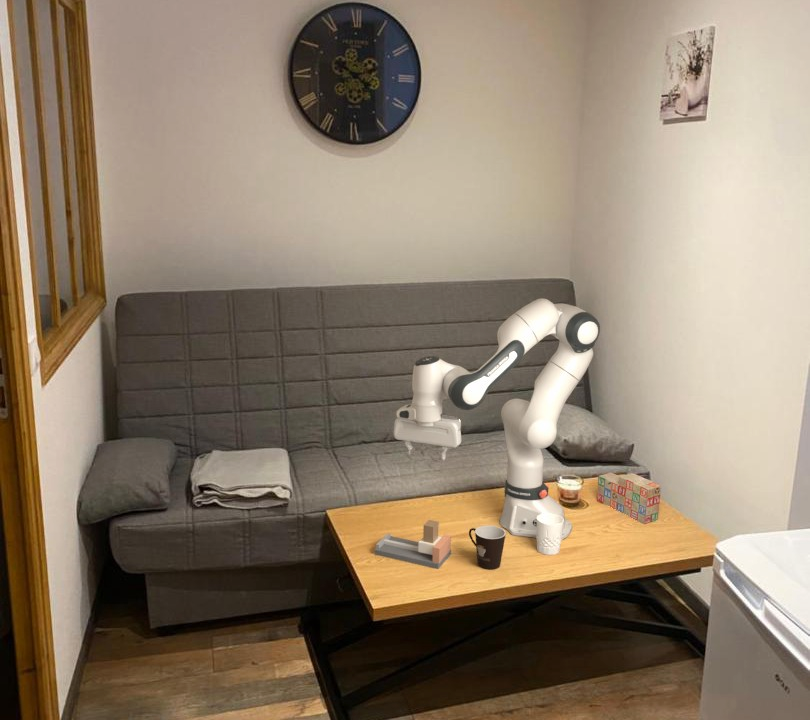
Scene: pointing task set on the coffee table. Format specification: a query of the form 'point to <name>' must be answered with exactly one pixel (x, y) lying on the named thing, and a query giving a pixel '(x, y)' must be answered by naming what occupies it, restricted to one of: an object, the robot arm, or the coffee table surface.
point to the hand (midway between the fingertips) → (427, 456)
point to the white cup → (549, 533)
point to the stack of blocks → (630, 495)
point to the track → (414, 551)
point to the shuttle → (429, 537)
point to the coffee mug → (489, 546)
